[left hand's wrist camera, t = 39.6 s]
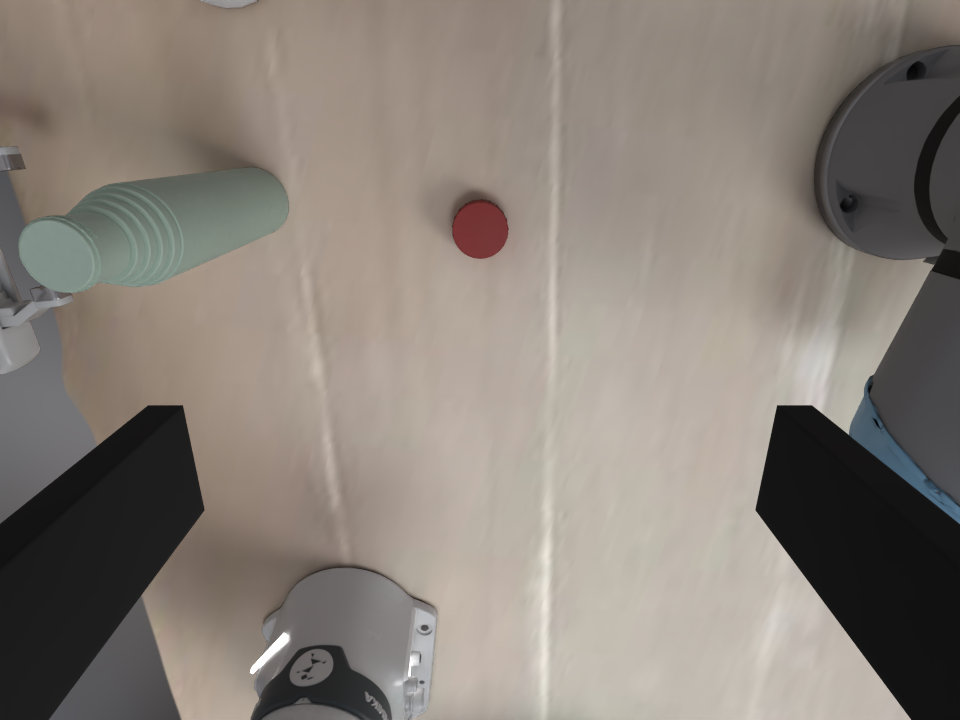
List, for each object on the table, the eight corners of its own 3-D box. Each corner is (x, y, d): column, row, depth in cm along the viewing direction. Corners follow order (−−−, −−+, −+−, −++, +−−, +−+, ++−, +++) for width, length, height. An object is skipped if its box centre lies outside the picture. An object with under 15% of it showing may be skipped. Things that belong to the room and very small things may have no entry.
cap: (442, 218, 46) (440, 221, 45) (489, 188, 46) (489, 190, 44) (471, 264, 48) (471, 269, 46) (517, 236, 47) (519, 240, 45)
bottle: (281, 164, 45) (97, 188, 23) (294, 232, 47) (135, 312, 25) (215, 169, 45) (-29, 197, 23) (231, 237, 47) (18, 320, 25)
